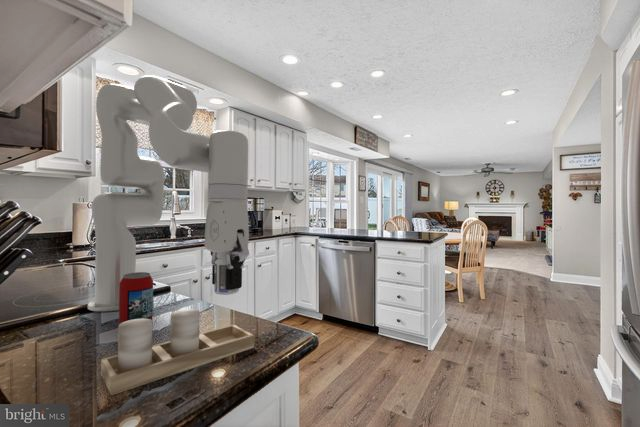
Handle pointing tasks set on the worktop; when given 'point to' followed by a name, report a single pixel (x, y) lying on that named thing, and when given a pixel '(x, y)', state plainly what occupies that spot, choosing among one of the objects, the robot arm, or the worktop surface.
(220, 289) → the pill bottle
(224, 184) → the robot arm
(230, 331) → the beige long tray
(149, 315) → the beverage can
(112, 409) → the worktop surface
